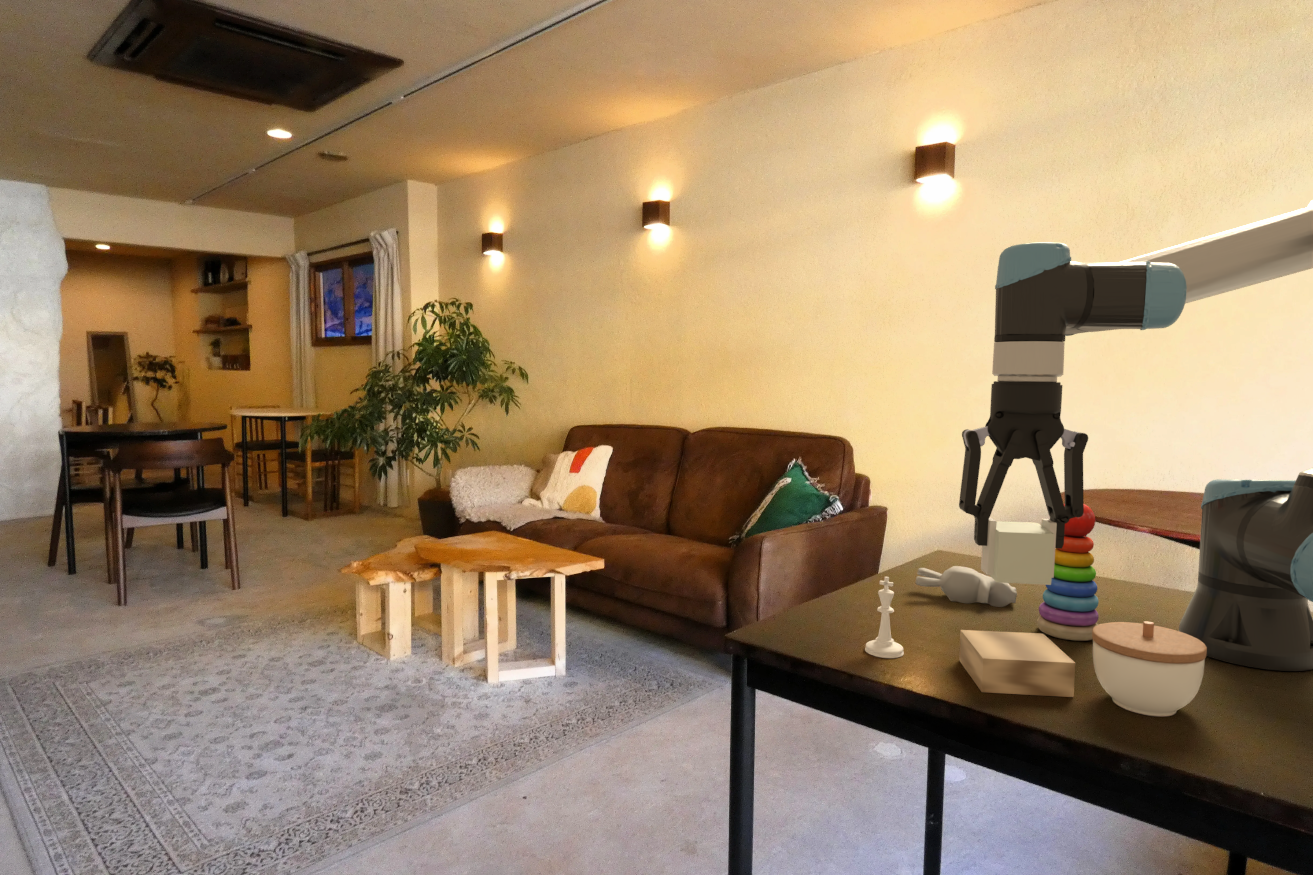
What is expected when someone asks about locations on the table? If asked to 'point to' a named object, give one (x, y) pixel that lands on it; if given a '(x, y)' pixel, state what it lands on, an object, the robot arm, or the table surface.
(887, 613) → the chess piece
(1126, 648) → the lidded jar
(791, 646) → the table surface
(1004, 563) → the cube
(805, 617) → the table surface
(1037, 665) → the plinth
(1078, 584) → the stacking toy
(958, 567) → the bunny figurine
